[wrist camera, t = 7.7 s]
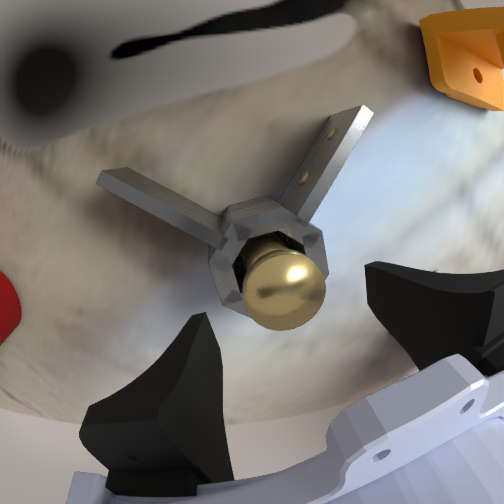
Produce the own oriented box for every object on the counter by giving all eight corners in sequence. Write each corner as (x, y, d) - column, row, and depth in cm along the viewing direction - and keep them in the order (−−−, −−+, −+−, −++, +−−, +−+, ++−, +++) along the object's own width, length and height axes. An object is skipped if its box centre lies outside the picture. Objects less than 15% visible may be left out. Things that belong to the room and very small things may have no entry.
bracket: (425, 90, 19) (533, 75, 7) (414, 23, 16) (503, -15, 5) (490, 112, 20) (576, 116, 8) (481, 54, 17) (560, 43, 6)
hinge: (368, 144, 20) (406, 143, 15) (273, 299, 23) (287, 334, 18) (205, 42, 16) (202, 10, 11) (106, 213, 19) (77, 230, 14)
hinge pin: (297, 240, 21) (340, 282, 14) (265, 282, 22) (292, 341, 15) (253, 209, 20) (278, 238, 13) (222, 254, 21) (228, 307, 13)
